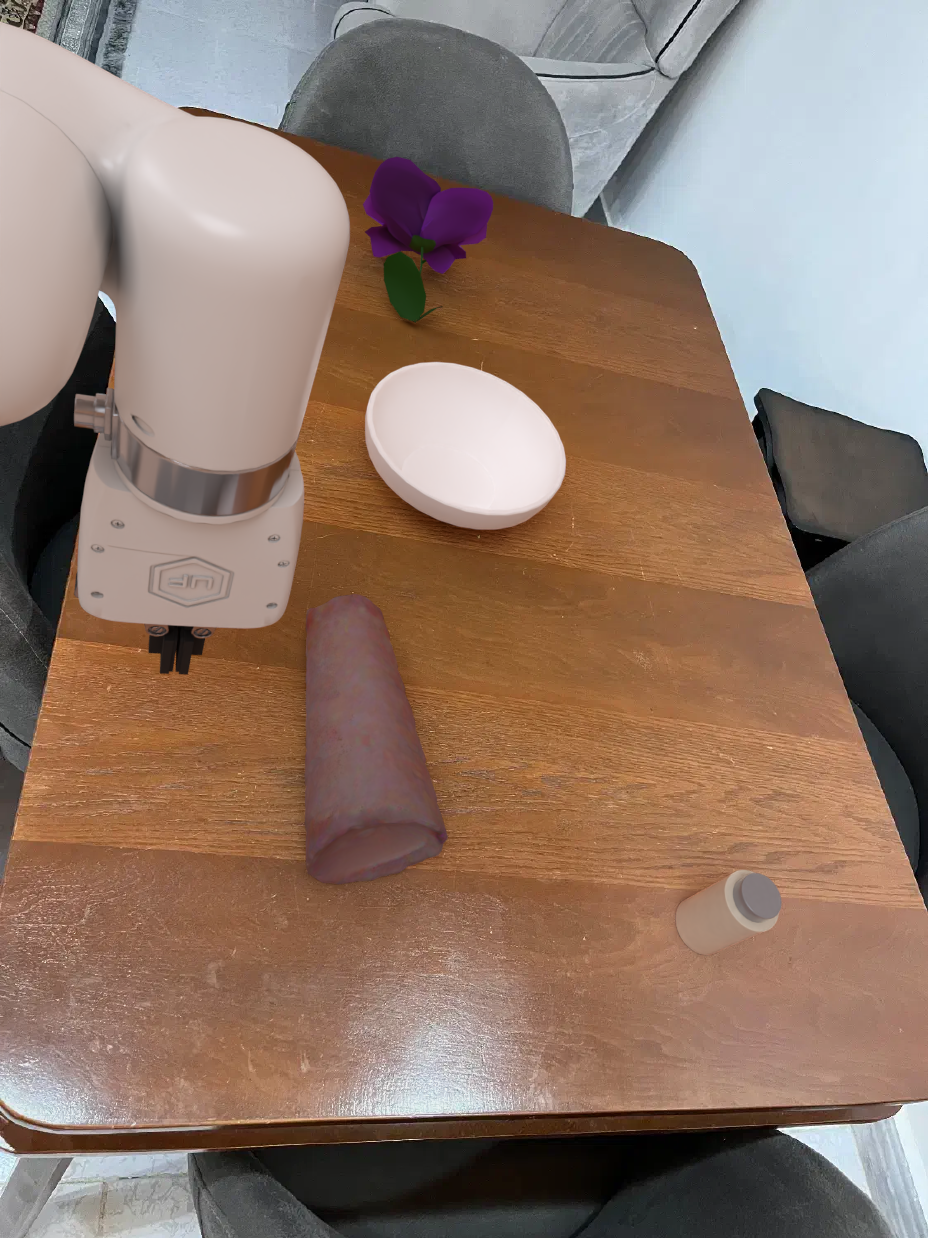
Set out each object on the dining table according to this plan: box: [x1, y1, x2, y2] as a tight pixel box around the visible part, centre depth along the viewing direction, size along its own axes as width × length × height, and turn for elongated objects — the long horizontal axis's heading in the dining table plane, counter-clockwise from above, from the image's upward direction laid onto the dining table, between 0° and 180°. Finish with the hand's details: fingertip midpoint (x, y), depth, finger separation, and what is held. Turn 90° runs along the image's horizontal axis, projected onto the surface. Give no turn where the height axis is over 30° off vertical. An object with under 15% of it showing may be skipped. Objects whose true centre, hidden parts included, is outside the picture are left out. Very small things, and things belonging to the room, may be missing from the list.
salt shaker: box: [674, 869, 783, 956], centre depth 62 cm, size 4×4×8 cm
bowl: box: [364, 361, 567, 531], centre depth 81 cm, size 20×20×7 cm
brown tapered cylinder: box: [304, 593, 449, 885], centre depth 61 cm, size 21×9×9 cm, turn 15°
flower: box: [362, 156, 494, 324], centre depth 95 cm, size 15×15×14 cm
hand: (174, 653), depth 50 cm, fingers closed
